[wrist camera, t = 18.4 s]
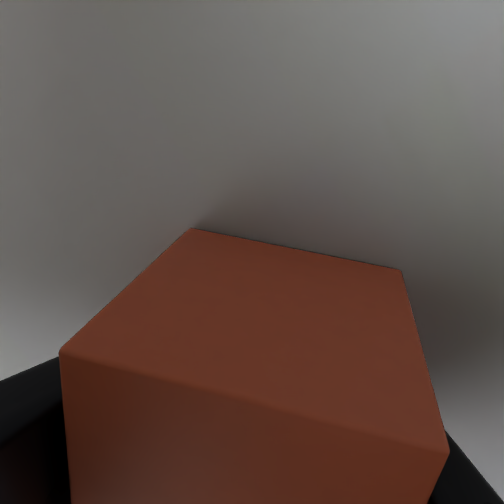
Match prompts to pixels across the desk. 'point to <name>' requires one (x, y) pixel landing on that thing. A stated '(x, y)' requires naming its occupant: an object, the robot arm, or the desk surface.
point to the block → (251, 383)
